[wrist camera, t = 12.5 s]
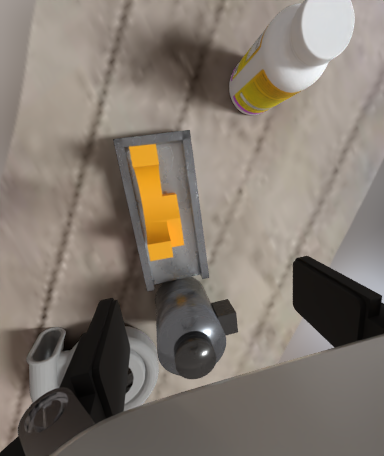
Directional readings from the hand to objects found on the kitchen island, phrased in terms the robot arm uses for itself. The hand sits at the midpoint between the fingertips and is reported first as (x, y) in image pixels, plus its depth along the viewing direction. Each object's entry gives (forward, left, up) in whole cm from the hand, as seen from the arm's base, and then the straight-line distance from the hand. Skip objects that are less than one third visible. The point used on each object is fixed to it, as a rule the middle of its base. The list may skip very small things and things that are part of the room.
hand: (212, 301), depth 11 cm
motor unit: (+3, 0, -21) cm, 21 cm away
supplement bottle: (-16, +13, -21) cm, 29 cm away
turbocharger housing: (+21, -15, -21) cm, 33 cm away
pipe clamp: (-3, -1, -20) cm, 20 cm away
